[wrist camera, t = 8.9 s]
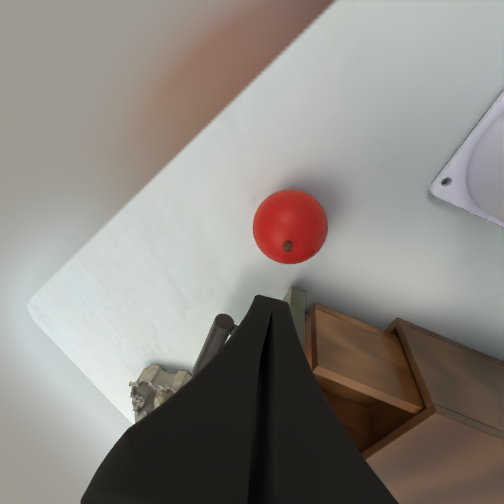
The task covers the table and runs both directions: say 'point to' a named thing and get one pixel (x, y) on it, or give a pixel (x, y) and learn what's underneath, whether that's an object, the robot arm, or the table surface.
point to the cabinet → (446, 426)
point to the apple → (290, 226)
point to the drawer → (345, 368)
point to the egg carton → (155, 389)
